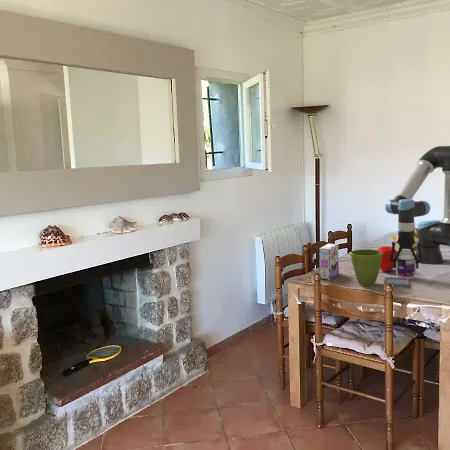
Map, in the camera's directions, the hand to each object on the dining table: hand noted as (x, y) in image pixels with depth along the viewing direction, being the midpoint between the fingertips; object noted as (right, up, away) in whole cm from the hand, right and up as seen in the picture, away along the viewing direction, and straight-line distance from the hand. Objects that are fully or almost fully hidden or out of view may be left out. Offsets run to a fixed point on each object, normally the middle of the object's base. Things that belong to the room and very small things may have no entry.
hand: (405, 274), depth 256 cm
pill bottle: (0, -2, 0) cm, 2 cm away
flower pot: (-22, -4, -7) cm, 23 cm away
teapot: (+25, +10, +69) cm, 74 cm away
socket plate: (-8, -4, -10) cm, 14 cm away
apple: (-4, 0, +16) cm, 17 cm away
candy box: (-37, -2, +11) cm, 38 cm away
